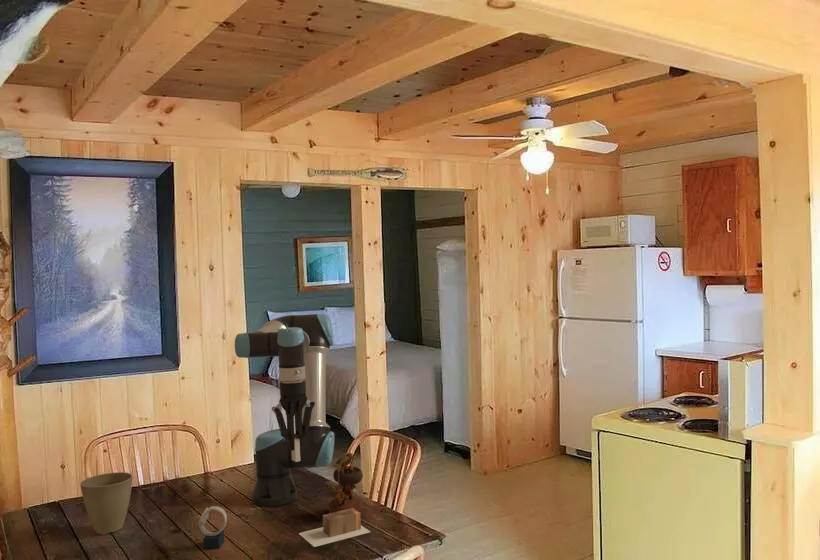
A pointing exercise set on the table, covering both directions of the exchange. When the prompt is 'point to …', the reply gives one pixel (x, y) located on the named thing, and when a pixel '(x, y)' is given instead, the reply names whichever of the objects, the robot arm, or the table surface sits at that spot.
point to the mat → (320, 538)
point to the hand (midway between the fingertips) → (296, 460)
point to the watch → (212, 537)
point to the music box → (346, 485)
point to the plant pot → (107, 500)
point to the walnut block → (341, 522)
